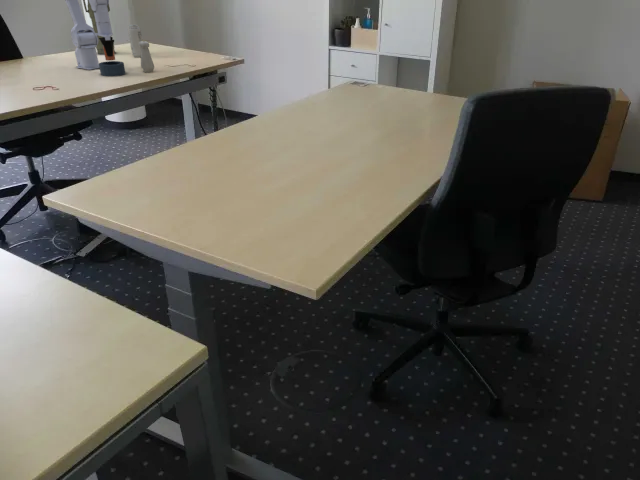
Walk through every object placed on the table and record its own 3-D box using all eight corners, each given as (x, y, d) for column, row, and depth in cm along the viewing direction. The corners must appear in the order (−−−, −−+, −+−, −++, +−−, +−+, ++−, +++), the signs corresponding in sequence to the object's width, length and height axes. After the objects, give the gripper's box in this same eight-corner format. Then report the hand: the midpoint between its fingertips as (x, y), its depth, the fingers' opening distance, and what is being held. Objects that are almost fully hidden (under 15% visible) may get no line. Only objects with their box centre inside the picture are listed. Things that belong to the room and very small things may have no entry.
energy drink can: (134, 55, 283) (128, 24, 275) (146, 55, 284) (140, 24, 276) (131, 57, 278) (125, 25, 270) (143, 57, 279) (138, 26, 271)
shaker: (103, 59, 238) (100, 42, 235) (111, 58, 241) (107, 41, 238) (109, 60, 237) (106, 43, 233) (117, 59, 240) (114, 42, 236)
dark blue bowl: (96, 74, 241) (93, 63, 238) (115, 70, 248) (113, 60, 246) (111, 77, 236) (109, 66, 234) (130, 73, 244) (128, 62, 242)
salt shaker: (152, 73, 246) (147, 42, 240) (140, 72, 246) (134, 42, 240) (156, 70, 251) (152, 40, 245) (144, 70, 251) (139, 40, 245)
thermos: (120, 53, 286) (105, -21, 268) (96, 55, 280) (80, -21, 262) (116, 51, 292) (102, -22, 274) (93, 52, 286) (77, -22, 268)
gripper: (91, 20, 235) (98, 53, 242) (94, 24, 224) (101, 58, 231) (108, 20, 238) (115, 52, 245) (112, 24, 227) (119, 57, 234)
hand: (109, 55), depth 238 cm, fingers closed on shaker, 4 cm apart
